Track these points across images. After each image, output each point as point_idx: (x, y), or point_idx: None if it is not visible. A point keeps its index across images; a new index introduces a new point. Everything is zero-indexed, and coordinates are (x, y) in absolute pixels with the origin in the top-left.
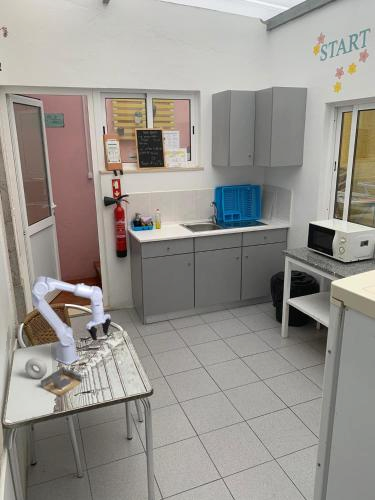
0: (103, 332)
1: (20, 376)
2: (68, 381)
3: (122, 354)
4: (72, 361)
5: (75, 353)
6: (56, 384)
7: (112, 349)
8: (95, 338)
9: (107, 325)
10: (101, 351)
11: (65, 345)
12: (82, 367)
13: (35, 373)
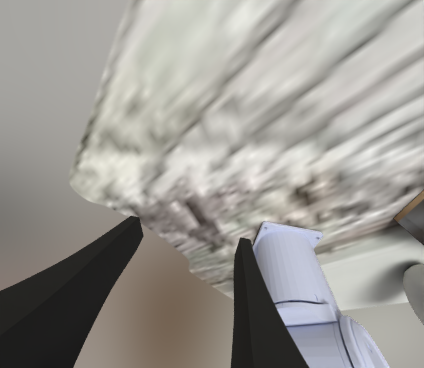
0: (140, 241)
1: (394, 297)
2: None
3: (168, 70)
4: (302, 231)
5: (286, 248)
6: None
7: (163, 150)
8: (253, 255)
9: (57, 291)
10: (197, 181)
11: (368, 334)
12: (333, 184)
13: None
